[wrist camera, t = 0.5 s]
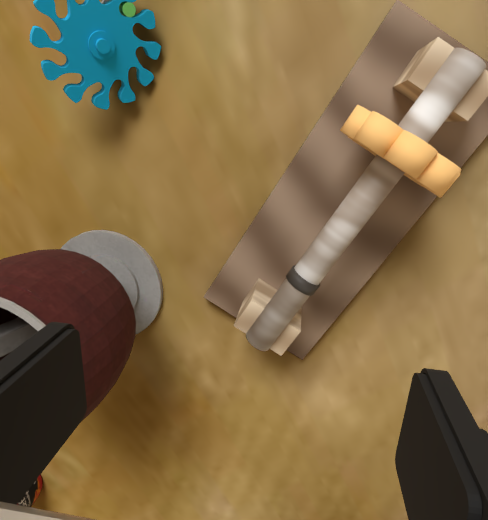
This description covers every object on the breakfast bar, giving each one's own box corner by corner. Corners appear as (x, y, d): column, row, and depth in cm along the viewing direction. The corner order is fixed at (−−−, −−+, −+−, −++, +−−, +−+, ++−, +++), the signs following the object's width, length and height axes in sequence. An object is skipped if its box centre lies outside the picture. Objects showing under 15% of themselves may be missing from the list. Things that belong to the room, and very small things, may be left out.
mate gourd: (168, 226, 40) (44, 315, 21) (172, 348, 44) (72, 510, 26) (26, 216, 42) (-201, 290, 23) (43, 333, 47) (-135, 474, 28)
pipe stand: (394, 4, 31) (420, -34, 24) (518, 90, 32) (581, 79, 24) (206, 292, 42) (184, 328, 34) (302, 353, 42) (301, 401, 35)
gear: (124, 133, 36) (7, 63, 29) (105, 112, 40) (-4, 46, 32) (192, 20, 34) (82, -86, 26) (164, 10, 38) (62, -86, 30)
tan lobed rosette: (350, 107, 32) (365, 101, 24) (440, 167, 32) (485, 182, 24) (335, 129, 33) (345, 130, 25) (423, 188, 33) (461, 209, 25)
